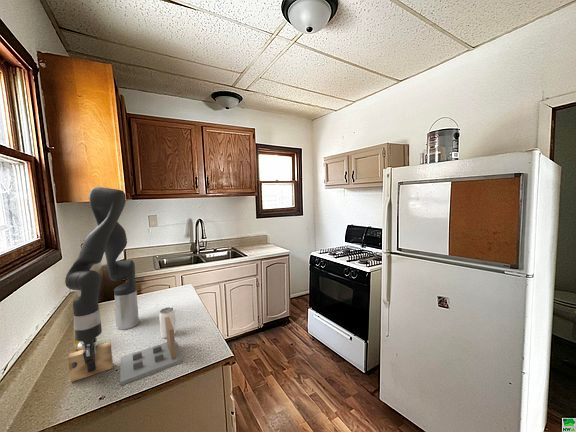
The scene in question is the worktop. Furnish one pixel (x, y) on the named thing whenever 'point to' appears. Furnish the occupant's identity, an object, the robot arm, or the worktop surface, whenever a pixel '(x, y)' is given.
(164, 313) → the can
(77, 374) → the long tan wooden block
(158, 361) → the grey and brown stand
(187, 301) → the worktop surface
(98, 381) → the worktop surface
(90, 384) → the worktop surface
